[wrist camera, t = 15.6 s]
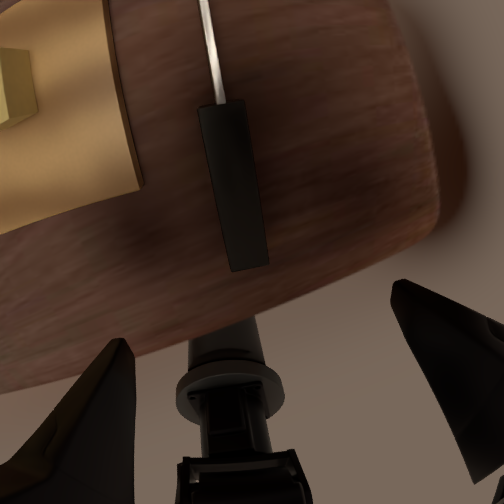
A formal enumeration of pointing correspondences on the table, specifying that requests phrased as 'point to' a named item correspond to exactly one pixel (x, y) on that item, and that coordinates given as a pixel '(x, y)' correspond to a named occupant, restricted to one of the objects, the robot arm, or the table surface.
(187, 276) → the table surface
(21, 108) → the butter slice
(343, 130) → the table surface
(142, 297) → the table surface
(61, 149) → the board
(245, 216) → the knife
